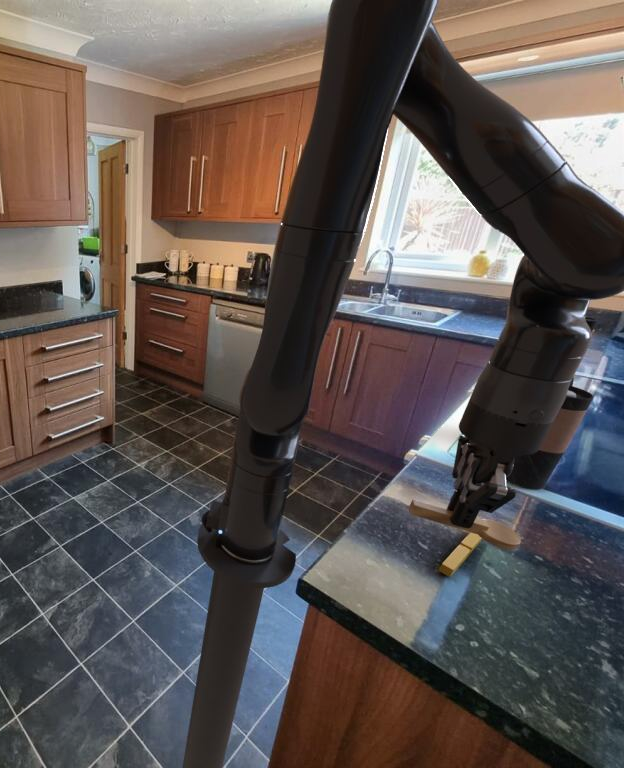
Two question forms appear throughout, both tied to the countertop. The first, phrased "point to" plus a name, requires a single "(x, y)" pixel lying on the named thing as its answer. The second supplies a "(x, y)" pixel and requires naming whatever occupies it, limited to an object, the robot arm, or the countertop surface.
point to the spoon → (483, 527)
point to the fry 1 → (454, 560)
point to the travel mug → (552, 442)
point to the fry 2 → (471, 541)
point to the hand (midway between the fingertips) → (457, 520)
